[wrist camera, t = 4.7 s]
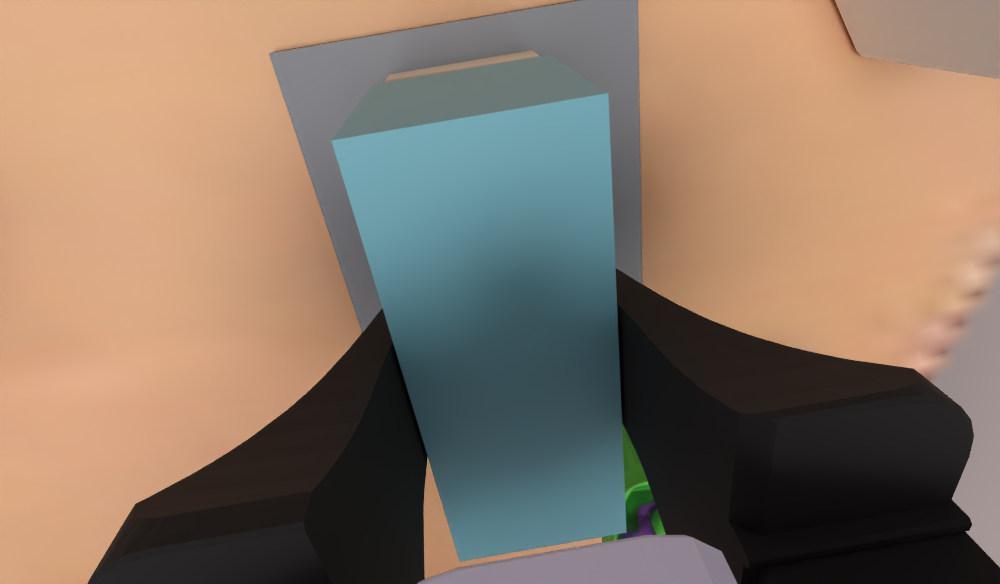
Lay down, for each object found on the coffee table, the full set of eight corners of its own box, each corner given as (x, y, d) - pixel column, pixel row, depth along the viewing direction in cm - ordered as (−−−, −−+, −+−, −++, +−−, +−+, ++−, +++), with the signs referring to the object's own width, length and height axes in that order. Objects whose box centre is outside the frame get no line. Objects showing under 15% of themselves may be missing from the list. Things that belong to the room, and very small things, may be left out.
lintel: (580, 393, 17) (626, 532, 13) (456, 414, 17) (459, 561, 13) (549, 54, 12) (608, 92, 8) (372, 84, 12) (331, 140, 8)
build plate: (639, 342, 21) (642, 349, 20) (384, 386, 21) (383, 394, 20) (631, -10, 15) (637, -9, 14) (274, 51, 15) (268, 53, 14)
